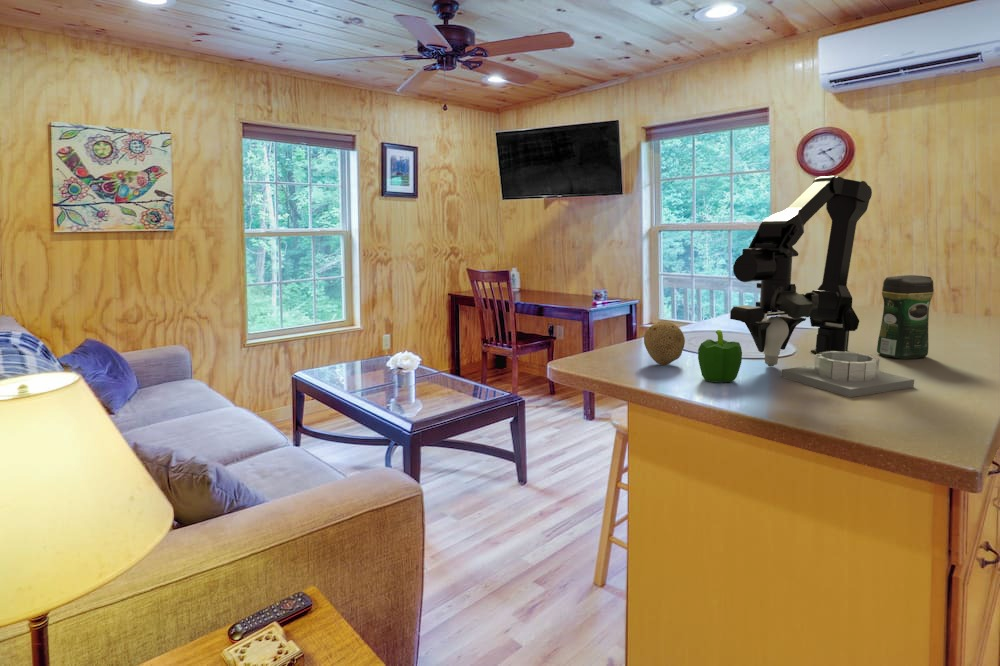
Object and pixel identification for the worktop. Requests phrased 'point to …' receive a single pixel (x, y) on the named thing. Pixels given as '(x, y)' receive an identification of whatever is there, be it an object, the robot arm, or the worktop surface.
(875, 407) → the worktop surface
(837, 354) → the socket collar
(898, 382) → the socket plate
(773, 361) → the lightbulb
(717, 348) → the bell pepper
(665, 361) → the natural sponge
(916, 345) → the coffee jar
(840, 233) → the robot arm
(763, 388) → the worktop surface
